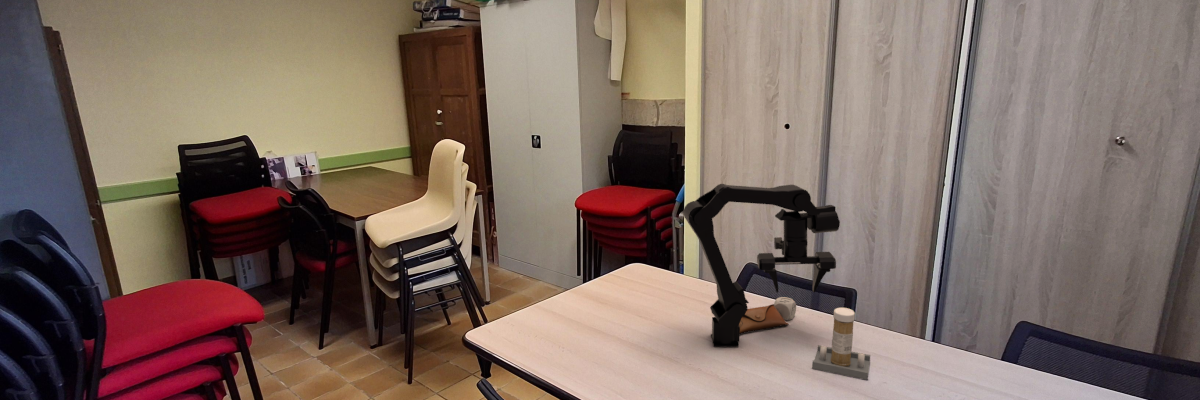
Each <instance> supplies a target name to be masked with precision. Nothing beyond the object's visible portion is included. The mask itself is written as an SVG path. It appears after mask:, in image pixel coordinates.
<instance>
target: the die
mask: <svg viewBox="0 0 1200 400" xmlns="http://www.w3.org/2000/svg"><path fill="white" fill-rule="evenodd" d="M773 304H774V307H775V308H776V309H777V310H778V312H779V313H780V315H781V316H782V317H783V319H784V320H785V321H790V320H793V319H794V318H795V315H796V314H797V313H796V312H797V303H796V301H795V300H794V299H793V298H790V297H784V296H780V297H777V298H776V299H775V301H774V302H773Z"/></svg>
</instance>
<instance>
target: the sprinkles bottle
mask: <svg viewBox="0 0 1200 400" xmlns="http://www.w3.org/2000/svg"><path fill="white" fill-rule="evenodd" d="M855 315H856V313H855V311H854V310H853V309H850V308H849V307H848V308H847V307H836V308H834V310H833V327H832V328H833V329H832V337H831V338H832V340H831V341H832V342H831V348H832V356H831V362H832V363H833V364H835V365H839V366H844V367H845V366H849V365H850V364H851V361H850V359H851V352H853V339H854V323H855V322H854V321H855V320H856V319H855V318H856V317H855Z"/></svg>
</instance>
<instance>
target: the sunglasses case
mask: <svg viewBox="0 0 1200 400" xmlns="http://www.w3.org/2000/svg"><path fill="white" fill-rule="evenodd" d="M788 325H789V323H788V322H787V321H786V320H784V319H783V317H782V316H781V315H780V313H779V312H778V310H777V309H776V308H775V307H774V303H772V304H769V305H765V306H758V307H752V308H751V307H750V308H747V311H746V313H745V315H744V316H743V317H742V318H741V321H740V323H739V326H740V335H741V334H743V335H744V334H747V333H752V332H753V333H754V332H758V331H764V330H771V329H775V328H780V327H785V326H788Z"/></svg>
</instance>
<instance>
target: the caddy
mask: <svg viewBox="0 0 1200 400" xmlns="http://www.w3.org/2000/svg"><path fill="white" fill-rule="evenodd" d="M816 349H817V350H816V354H815V356H814V359H813V360H812V364H811V369H812V370H815V371H816V370H817V371H822V372H826V373H832V374H837V375H841V376H846V377H852V378H856V379H861V380H864V381H868V379H869V378H868V377H869V370H870V363H871V354H866V353H862V352H856V351H852V352H851V359H850V361H851V364H850V365H849V366H845V367H844V366H839V365H835V364H833V363H832V362H831V356H832V346H831V347H830V346H825V345H819V344H818V345H817V348H816Z"/></svg>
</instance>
